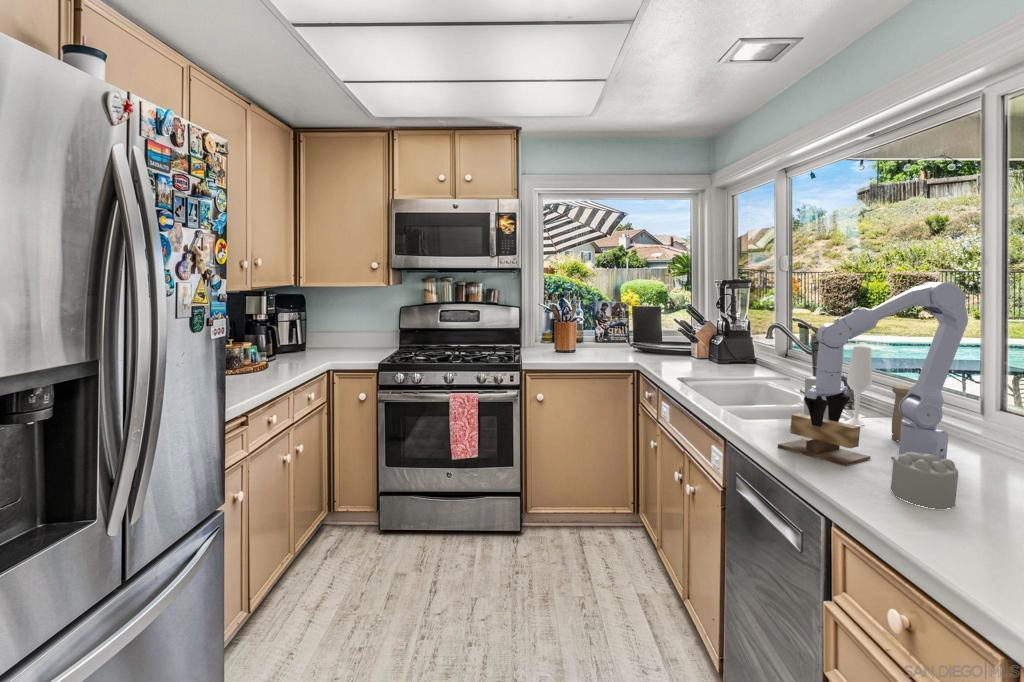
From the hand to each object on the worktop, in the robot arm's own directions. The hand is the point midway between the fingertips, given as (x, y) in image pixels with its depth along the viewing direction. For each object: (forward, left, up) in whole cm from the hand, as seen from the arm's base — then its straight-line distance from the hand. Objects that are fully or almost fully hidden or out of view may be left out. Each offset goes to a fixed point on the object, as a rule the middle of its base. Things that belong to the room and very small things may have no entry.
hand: (825, 424), depth 156 cm
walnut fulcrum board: (0, 0, -8) cm, 8 cm away
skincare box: (+17, -27, -8) cm, 33 cm away
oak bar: (0, 0, -4) cm, 4 cm away
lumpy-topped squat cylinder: (-29, +13, -8) cm, 33 cm away
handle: (-3, -32, -8) cm, 33 cm away
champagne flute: (+14, -41, -8) cm, 44 cm away
